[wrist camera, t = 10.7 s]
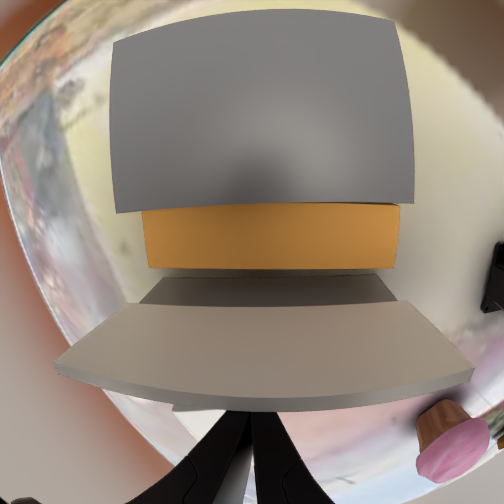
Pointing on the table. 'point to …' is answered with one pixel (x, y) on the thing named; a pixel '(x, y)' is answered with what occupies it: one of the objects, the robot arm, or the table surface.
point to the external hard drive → (198, 419)
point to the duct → (262, 131)
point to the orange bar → (273, 236)
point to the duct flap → (268, 356)
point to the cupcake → (449, 441)
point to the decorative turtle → (500, 442)
